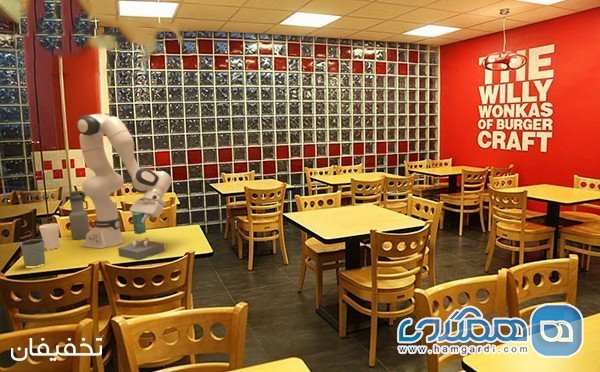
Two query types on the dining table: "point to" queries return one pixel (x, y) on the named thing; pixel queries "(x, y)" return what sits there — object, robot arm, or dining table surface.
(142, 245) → the peg stand
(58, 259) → the dining table surface
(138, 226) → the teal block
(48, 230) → the foam cup
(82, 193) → the water bottle
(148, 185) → the robot arm
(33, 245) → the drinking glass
